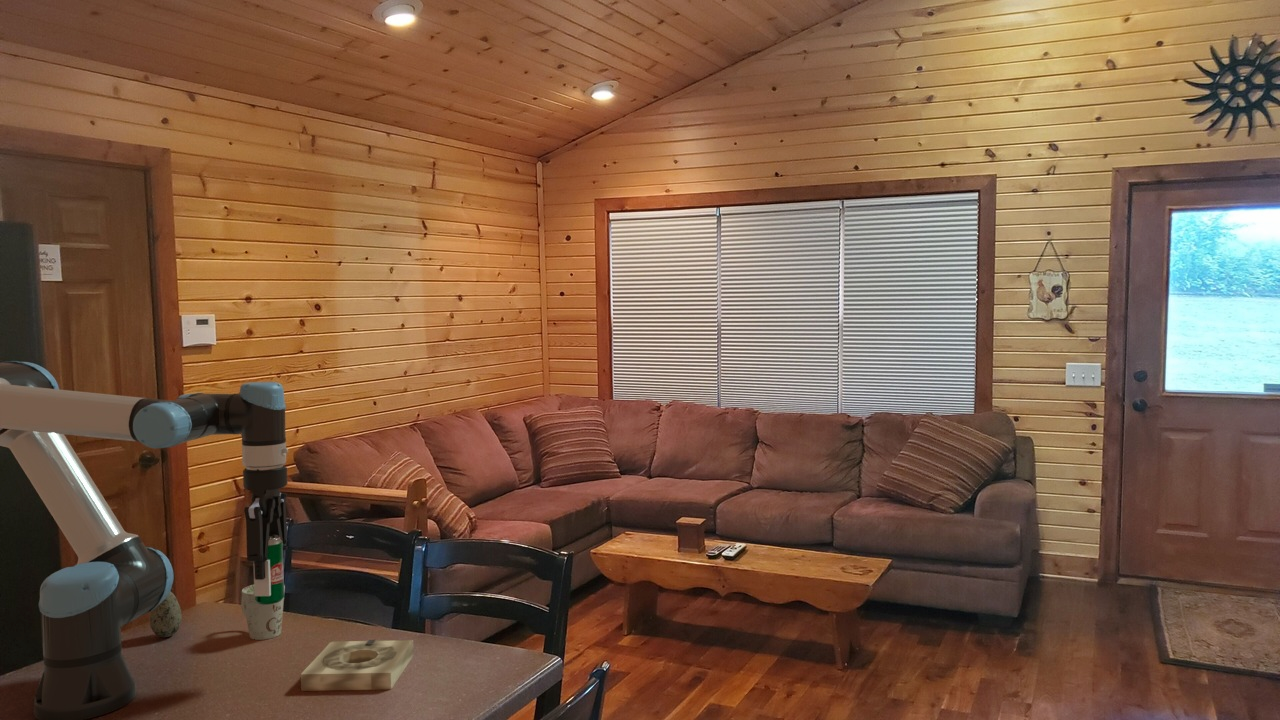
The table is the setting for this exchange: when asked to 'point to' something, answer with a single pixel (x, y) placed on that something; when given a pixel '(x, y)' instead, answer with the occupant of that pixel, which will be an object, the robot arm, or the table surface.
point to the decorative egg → (166, 617)
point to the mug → (261, 616)
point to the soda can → (274, 572)
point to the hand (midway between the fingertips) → (269, 590)
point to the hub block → (358, 665)
